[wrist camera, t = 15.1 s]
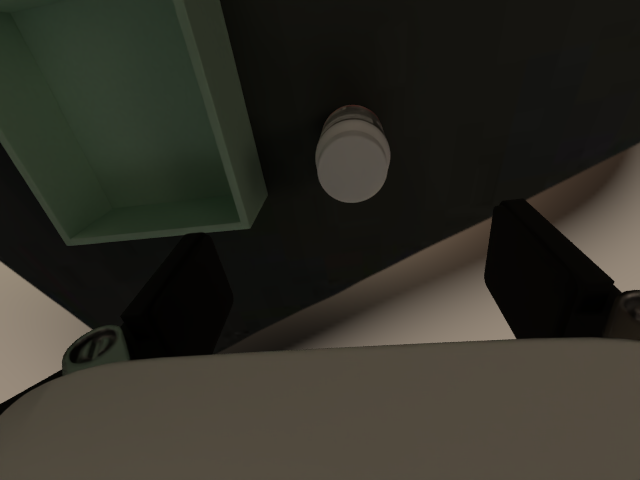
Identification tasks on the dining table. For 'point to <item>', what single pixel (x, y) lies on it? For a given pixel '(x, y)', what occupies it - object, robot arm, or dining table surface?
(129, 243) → the dining table surface
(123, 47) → the box
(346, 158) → the pill bottle
